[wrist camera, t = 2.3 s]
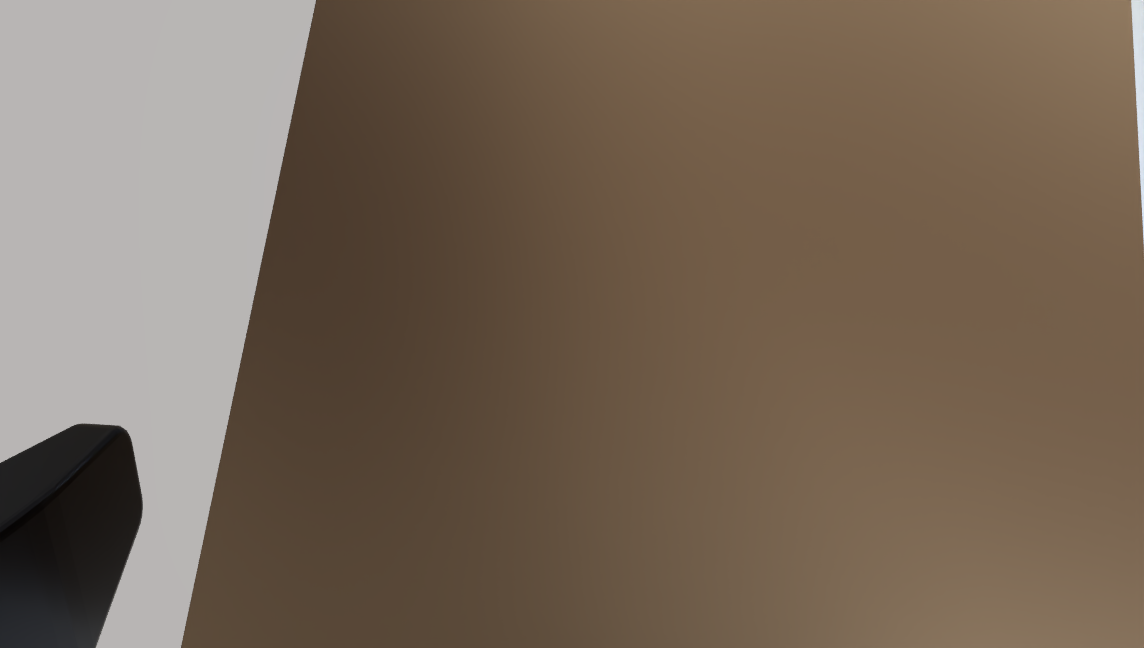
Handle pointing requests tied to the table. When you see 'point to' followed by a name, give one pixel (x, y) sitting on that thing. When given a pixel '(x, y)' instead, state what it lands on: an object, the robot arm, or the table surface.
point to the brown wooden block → (694, 332)
